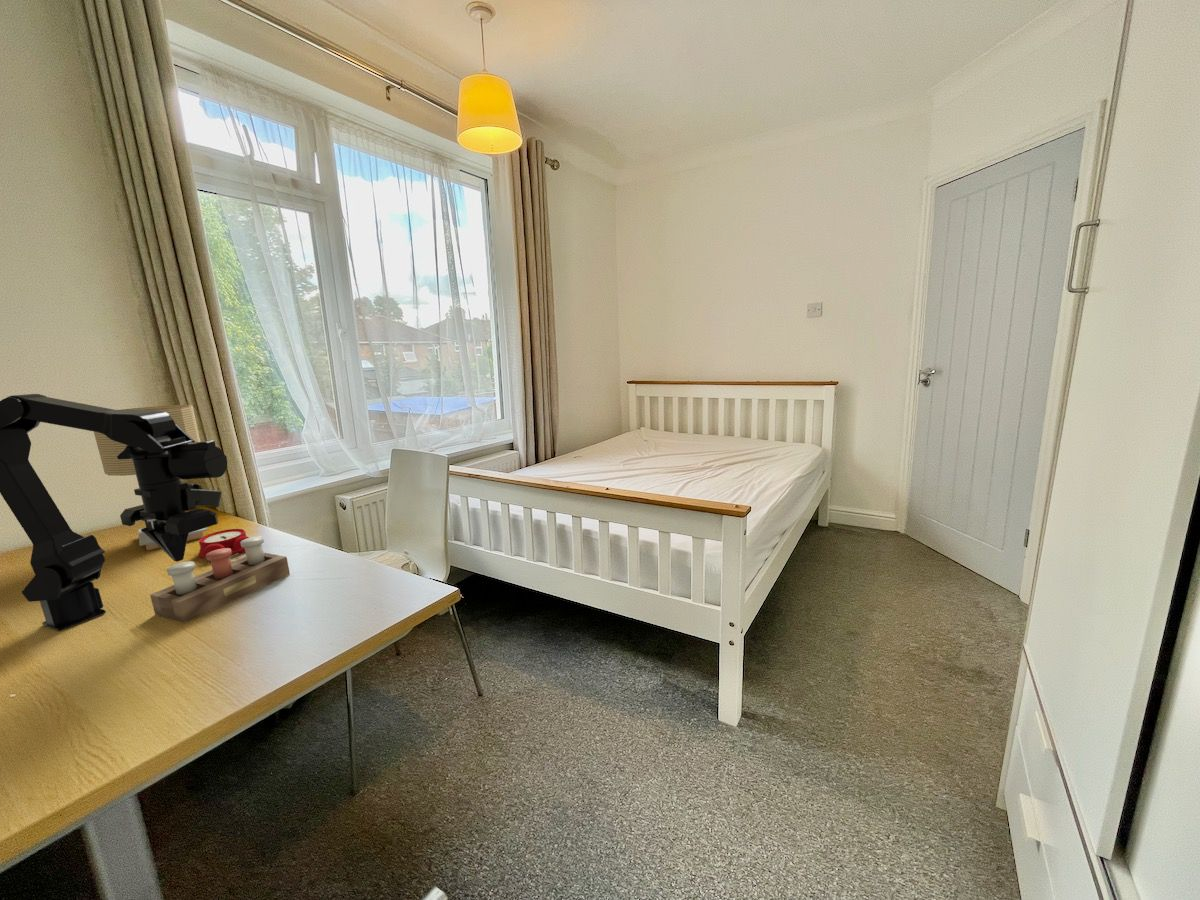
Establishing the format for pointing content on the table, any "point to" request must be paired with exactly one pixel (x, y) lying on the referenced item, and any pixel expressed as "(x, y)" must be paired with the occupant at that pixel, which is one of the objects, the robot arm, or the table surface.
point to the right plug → (253, 550)
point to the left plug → (183, 577)
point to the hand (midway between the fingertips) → (178, 560)
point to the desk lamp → (122, 467)
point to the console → (219, 588)
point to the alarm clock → (222, 541)
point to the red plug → (220, 562)
